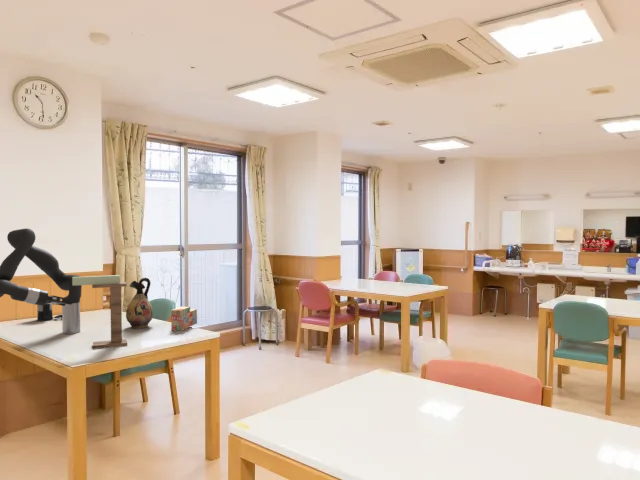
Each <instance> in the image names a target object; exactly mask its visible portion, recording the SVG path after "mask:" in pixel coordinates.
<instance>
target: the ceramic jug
mask: <svg viewBox="0 0 640 480" xmlns="http://www.w3.org/2000/svg"><path fill="white" fill-rule="evenodd" d="M144 282H146V283H147V284H146V286H145V285H144V284H143V283H144ZM129 287H130V288H131V289H135V290H136V293H135V295H134V296H133V297H132V298H131V300H130V302H129V304H128V306H127V308H126V313H125V317H126V321H127V322H128V323H129V325H130V327H131V329H144V328H147V327H148V326H149V324H150V323H151V321H152V320H153V316H154V312H153V311H154V310H153V306H152V304H151V303H150V301H149V298H148V293H149V291H150V287H151V280H150V278H147V277H143V278H140V279H139V280H138V281H137V280H133V281H132V282H131V283H130V284H129ZM143 289H145V290H144V291H143Z"/></svg>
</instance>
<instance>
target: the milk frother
mask: <svg viewBox="0 0 640 480" xmlns="http://www.w3.org/2000/svg"><path fill="white" fill-rule="evenodd" d="M36 306H37V308H36V310H37V317H36V320H37V321H38V322H44V321H52V320H54V319H62V314H59V315H55V316H54V317H53V305H52V304H47V303H45V305H43V306H41V305H36Z"/></svg>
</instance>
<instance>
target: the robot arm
mask: <svg viewBox="0 0 640 480" xmlns="http://www.w3.org/2000/svg"><path fill="white" fill-rule="evenodd" d="M7 242H8V244H10V246H11V247H12V248H13V251H12V252H10V254H8V255H7V256H6V257H5V258H4V260H2V262H1V264H0V298H2V297H4V295H8V296H10V299H12V300H14V301H18V302H23V303H27V304H31V305H36V306H37V305H41V306H43V305H45V303H47V304H52V306H54V305H55V306H61V309H62V310H61V311H62V312H61V315H62V318H61V319H62V330H61V331H62V334H69V335H70V334H77V333H79V332H81V297H82V286H83V285H74V286H72V277H80V275H78V274H67V273H65V272H64V271H62V270H61V269H60V265H59V264H60V263H59V261H58V260H57V258H56V257H55V256H54V255H53V254H52V253H50V252H49V251H47V250H45V249H43V248H40V247H38V246H35V245H34V243H35V242H36V233H35V232H34V230H32V229H31V228H21V229H16V230H11V231H9V232H8V234H7ZM24 257H26V258H28V259H29V261H31V262H32V263H34V265H35V266H36V267H38V269H39V270H41V271H42V272H44V273H45V274H46V275H47V276H48V277H49V278H50V279H51V280H52V281H53V282H54V284H56V285H57V287H58V288H59V289H60V290H62V291H65V292H67V291H68V294H67V295H66V296H64V297H61V296H57V295H49V292H48V291H47V290H44V289H43V290H42V289H39V288H34V287H26V286H24V285H18V284H16V283H14V282H13V281H12V279H13V278H14V276H15V274H16V271H17V269H18V267H19V265H20V264H21V263H22V261H23V259H24Z"/></svg>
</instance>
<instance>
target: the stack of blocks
mask: <svg viewBox="0 0 640 480" xmlns="http://www.w3.org/2000/svg"><path fill="white" fill-rule="evenodd" d="M197 310H198V309H197V308H191V306H178V307H175V308H173V309H171V311H170V312H171V313H170V314H171V316H170V317H171V318H170V319H171V320H170V321H171V323H170V324H171V326H170V327H171V331H175V330H179V331H178V332H181V330H182V331H184V330H186V329H188V328H190V327H192V326H194V325H197V324H198V314H197V312H198V311H197Z"/></svg>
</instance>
